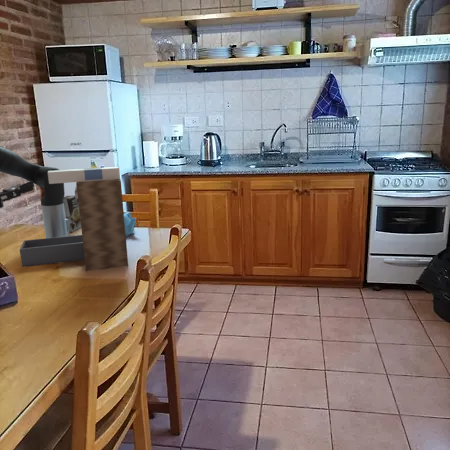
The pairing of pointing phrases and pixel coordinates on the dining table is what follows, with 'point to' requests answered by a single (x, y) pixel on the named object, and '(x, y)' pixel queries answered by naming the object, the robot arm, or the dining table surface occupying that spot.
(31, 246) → the tray
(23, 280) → the dining table surface
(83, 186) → the brown zigzag patterned box
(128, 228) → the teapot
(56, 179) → the spaghetti box
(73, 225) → the coffee box
